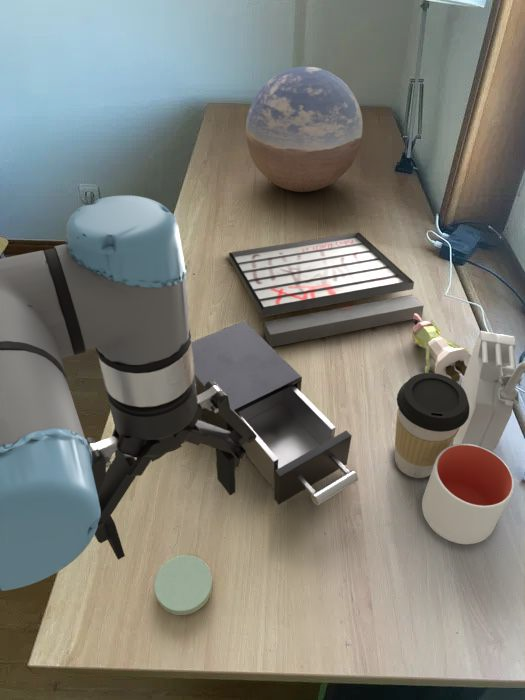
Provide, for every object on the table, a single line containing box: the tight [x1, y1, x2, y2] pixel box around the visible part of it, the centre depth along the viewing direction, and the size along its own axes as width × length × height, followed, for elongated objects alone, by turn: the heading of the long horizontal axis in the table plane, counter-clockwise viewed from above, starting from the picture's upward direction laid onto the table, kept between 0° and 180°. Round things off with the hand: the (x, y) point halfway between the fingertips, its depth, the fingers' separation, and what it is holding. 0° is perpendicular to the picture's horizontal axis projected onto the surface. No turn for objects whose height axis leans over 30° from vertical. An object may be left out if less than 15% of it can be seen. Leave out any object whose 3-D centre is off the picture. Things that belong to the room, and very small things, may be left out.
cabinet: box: [192, 320, 303, 432], centre depth 93 cm, size 17×14×9 cm
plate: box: [153, 554, 214, 616], centre depth 71 cm, size 7×7×2 cm
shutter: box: [228, 231, 425, 348], centre depth 120 cm, size 32×7×31 cm
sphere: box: [245, 65, 364, 193], centre depth 145 cm, size 30×30×30 cm
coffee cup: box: [394, 372, 470, 479], centre depth 82 cm, size 10×10×15 cm
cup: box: [421, 444, 515, 545], centre depth 76 cm, size 10×10×10 cm
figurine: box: [409, 313, 471, 383], centre depth 101 cm, size 9×7×15 cm
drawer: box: [232, 385, 359, 506], centre depth 83 cm, size 21×13×7 cm, turn 34°
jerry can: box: [452, 330, 525, 454], centre depth 81 cm, size 15×5×25 cm, turn 165°
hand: (173, 515), depth 62 cm, fingers open, 13 cm apart
